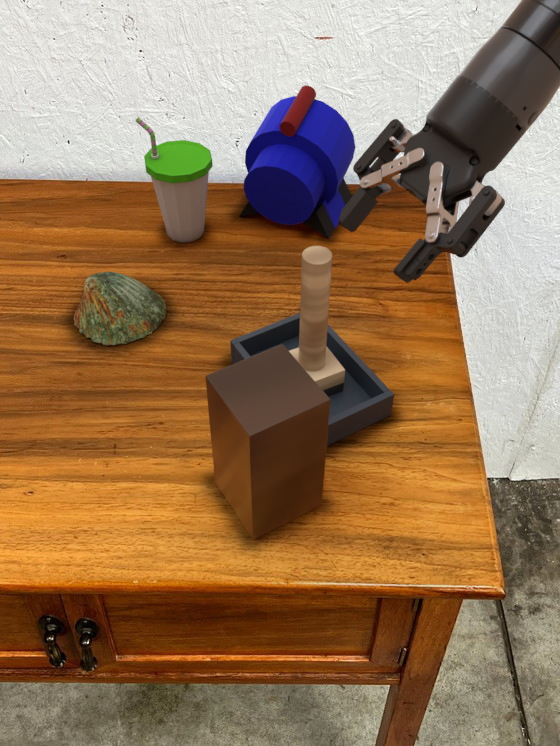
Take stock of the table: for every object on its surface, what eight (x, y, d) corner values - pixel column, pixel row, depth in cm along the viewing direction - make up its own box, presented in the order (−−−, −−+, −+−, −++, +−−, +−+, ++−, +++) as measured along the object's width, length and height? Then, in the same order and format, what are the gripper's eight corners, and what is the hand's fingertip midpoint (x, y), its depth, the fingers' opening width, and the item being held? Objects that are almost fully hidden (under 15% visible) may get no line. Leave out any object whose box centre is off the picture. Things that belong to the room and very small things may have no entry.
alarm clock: (354, 195, 102) (363, 86, 91) (323, 248, 94) (330, 135, 83) (268, 176, 105) (267, 68, 94) (231, 226, 97) (226, 114, 86)
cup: (230, 228, 97) (224, 116, 86) (188, 259, 92) (176, 145, 81) (183, 206, 100) (172, 95, 89) (140, 235, 96) (123, 122, 85)
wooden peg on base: (343, 390, 77) (355, 262, 65) (300, 407, 75) (305, 278, 64) (319, 360, 80) (327, 232, 68) (278, 375, 78) (279, 247, 67)
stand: (322, 505, 68) (330, 399, 58) (253, 540, 66) (249, 436, 56) (281, 451, 72) (282, 343, 62) (214, 482, 70) (204, 375, 60)
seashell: (99, 327, 78) (51, 278, 83) (102, 358, 80) (56, 308, 86) (182, 292, 83) (131, 248, 88) (182, 322, 85) (134, 278, 91)
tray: (391, 415, 76) (394, 394, 73) (305, 457, 72) (306, 435, 70) (311, 328, 84) (312, 307, 82) (231, 361, 80) (229, 340, 78)
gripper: (421, 45, 67) (305, 197, 71) (538, 115, 59) (399, 283, 63) (457, 89, 73) (348, 227, 77) (569, 159, 64) (440, 309, 69)
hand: (371, 252), depth 70 cm, fingers open, 8 cm apart
